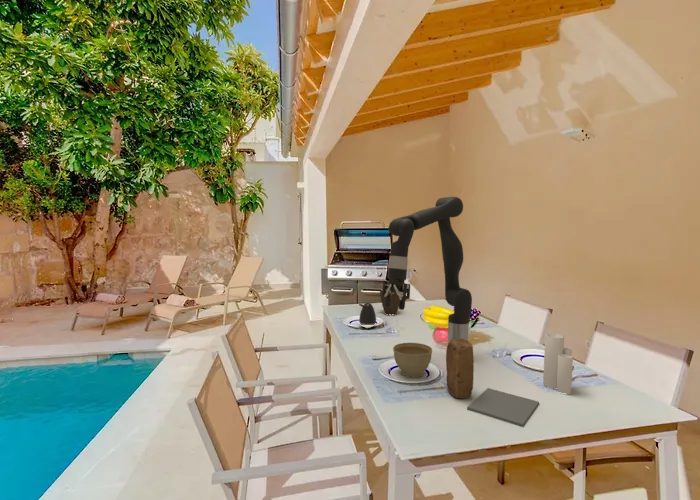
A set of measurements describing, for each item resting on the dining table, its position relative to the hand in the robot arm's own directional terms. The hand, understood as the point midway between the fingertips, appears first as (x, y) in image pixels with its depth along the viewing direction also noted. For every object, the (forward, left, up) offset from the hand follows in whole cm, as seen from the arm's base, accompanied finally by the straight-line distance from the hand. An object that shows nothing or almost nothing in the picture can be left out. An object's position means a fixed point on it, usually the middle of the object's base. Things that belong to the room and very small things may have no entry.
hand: (394, 308), depth 158 cm
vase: (-33, +54, -29) cm, 70 cm away
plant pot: (-93, -62, -29) cm, 115 cm away
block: (-4, +26, -29) cm, 39 cm away
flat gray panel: (-4, +43, -29) cm, 52 cm away
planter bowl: (-10, +3, -29) cm, 31 cm away
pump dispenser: (-55, -54, -29) cm, 82 cm away
